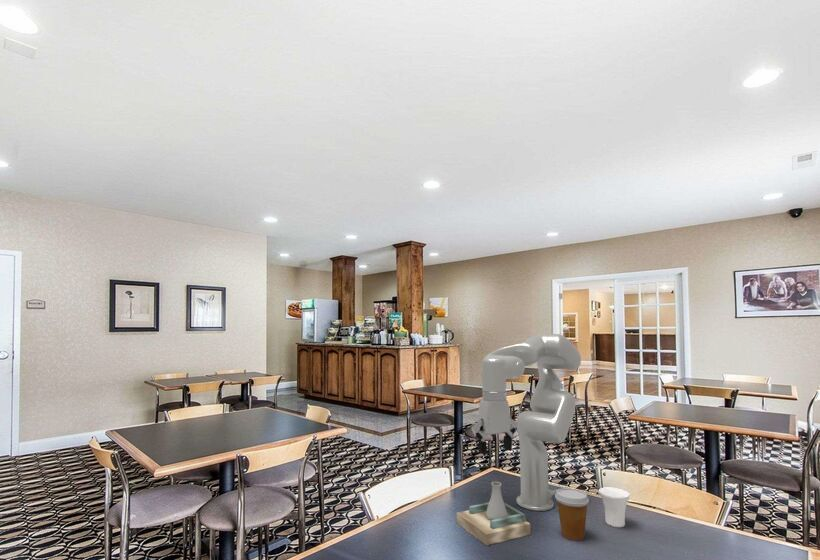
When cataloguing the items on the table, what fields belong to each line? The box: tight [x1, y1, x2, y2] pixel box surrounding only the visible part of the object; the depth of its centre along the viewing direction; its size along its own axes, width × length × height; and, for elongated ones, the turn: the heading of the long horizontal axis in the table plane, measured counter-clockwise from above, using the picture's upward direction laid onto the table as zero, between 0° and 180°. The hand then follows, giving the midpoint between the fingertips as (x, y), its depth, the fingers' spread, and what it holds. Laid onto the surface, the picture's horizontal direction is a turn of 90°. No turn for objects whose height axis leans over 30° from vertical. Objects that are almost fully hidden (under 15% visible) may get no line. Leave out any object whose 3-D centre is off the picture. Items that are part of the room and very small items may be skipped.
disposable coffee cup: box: [554, 487, 590, 541], centre depth 128 cm, size 10×10×12 cm
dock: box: [456, 501, 531, 546], centre depth 132 cm, size 16×16×5 cm
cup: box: [597, 486, 631, 528], centre depth 136 cm, size 9×9×10 cm
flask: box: [485, 481, 508, 520], centre depth 134 cm, size 7×7×10 cm
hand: (495, 451), depth 135 cm, fingers open, 9 cm apart
